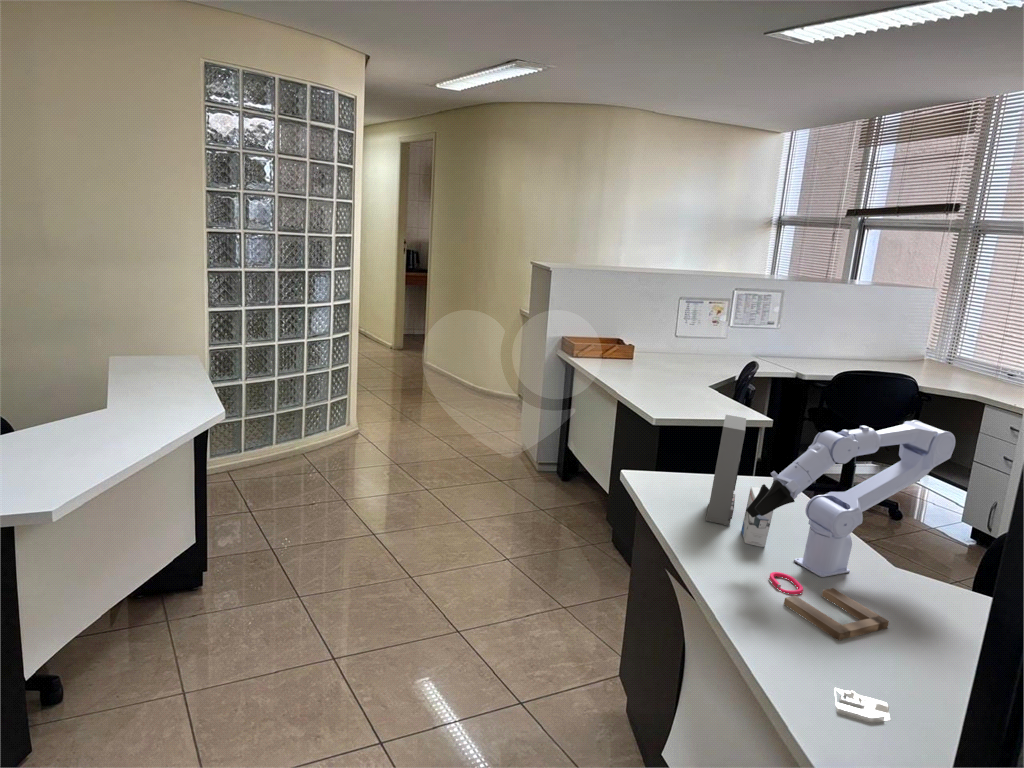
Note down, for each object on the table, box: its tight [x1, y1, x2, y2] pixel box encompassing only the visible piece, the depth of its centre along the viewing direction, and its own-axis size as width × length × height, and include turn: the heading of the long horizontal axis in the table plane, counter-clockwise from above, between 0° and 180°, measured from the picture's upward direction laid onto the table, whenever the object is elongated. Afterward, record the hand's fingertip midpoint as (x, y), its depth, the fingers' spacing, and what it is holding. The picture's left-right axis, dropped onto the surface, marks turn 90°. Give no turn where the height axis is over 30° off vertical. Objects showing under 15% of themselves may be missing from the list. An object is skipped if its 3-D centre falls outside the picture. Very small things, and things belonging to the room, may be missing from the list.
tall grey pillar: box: [705, 414, 747, 526], centre depth 185 cm, size 14×6×25 cm, turn 161°
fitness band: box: [768, 571, 804, 595], centre depth 152 cm, size 8×6×2 cm
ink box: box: [741, 486, 775, 548], centre depth 173 cm, size 9×5×12 cm, turn 168°
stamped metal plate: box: [833, 687, 892, 724], centre depth 114 cm, size 8×7×2 cm
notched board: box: [783, 587, 890, 641], centre depth 141 cm, size 14×13×2 cm
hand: (753, 513), depth 154 cm, fingers open, 7 cm apart
